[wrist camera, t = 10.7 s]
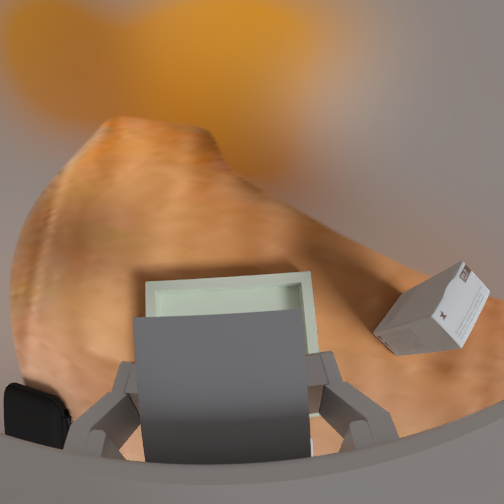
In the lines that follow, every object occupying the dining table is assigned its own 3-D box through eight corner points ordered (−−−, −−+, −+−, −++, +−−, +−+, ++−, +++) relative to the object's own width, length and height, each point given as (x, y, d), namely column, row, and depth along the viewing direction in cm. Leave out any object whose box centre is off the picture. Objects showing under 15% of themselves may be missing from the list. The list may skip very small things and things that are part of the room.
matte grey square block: (190, 420, 16) (147, 472, 8) (183, 330, 17) (133, 317, 9) (283, 416, 16) (311, 467, 8) (277, 325, 17) (301, 308, 9)
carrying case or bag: (86, 508, 25) (81, 399, 29) (76, 517, 22) (68, 403, 26) (19, 480, 25) (12, 378, 29) (6, 486, 22) (-2, 379, 26)
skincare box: (397, 357, 31) (463, 355, 20) (369, 331, 32) (427, 318, 20) (426, 314, 33) (494, 293, 21) (400, 288, 33) (463, 258, 22)
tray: (159, 419, 29) (152, 424, 26) (152, 286, 33) (145, 281, 31) (317, 410, 29) (323, 415, 27) (305, 276, 34) (310, 271, 31)
